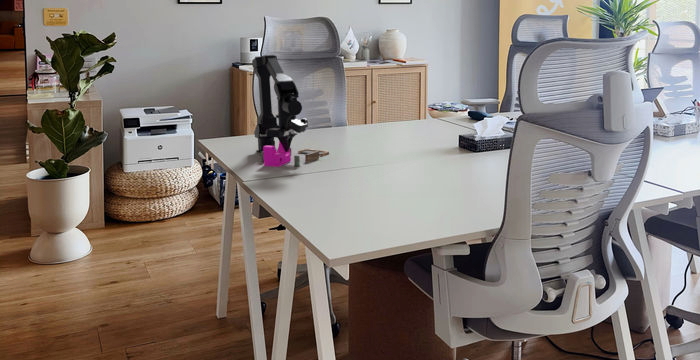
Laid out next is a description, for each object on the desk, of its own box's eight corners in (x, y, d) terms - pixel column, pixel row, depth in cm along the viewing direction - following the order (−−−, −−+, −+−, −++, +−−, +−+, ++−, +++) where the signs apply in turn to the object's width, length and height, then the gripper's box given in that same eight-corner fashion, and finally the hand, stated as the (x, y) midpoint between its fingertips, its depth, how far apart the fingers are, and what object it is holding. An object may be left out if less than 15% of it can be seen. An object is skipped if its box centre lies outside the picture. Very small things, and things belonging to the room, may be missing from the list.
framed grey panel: (260, 162, 288) (260, 152, 287) (300, 150, 311) (299, 141, 310) (297, 167, 279) (297, 156, 278) (335, 154, 301) (335, 145, 300)
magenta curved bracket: (278, 166, 280) (277, 147, 278) (264, 165, 282) (263, 146, 281) (296, 159, 293) (295, 140, 292) (282, 158, 296) (281, 139, 294)
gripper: (288, 116, 271) (289, 158, 275) (316, 110, 287) (317, 149, 291) (264, 114, 277) (266, 155, 281) (293, 108, 293) (294, 147, 296)
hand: (286, 151), depth 287 cm, fingers closed
